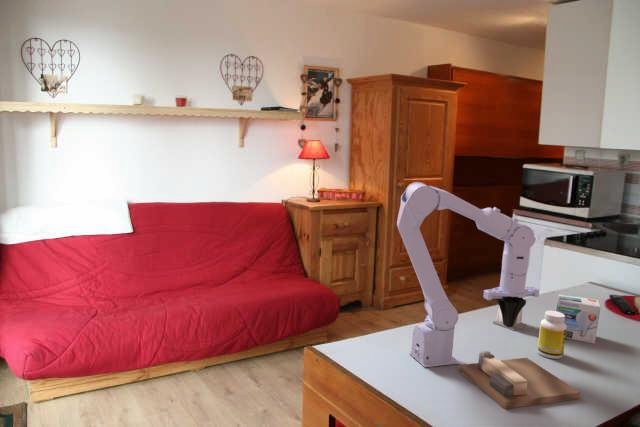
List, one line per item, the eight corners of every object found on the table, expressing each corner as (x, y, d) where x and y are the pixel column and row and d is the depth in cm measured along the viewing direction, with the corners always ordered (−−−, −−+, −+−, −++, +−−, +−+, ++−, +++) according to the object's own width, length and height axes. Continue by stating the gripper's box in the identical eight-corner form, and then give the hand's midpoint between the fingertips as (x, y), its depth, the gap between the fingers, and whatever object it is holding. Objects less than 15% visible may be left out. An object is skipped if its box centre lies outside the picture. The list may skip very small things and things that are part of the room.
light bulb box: (553, 336, 144) (558, 300, 143) (552, 328, 151) (557, 293, 149) (596, 344, 140) (601, 306, 139) (593, 335, 147) (598, 299, 145)
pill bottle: (565, 360, 129) (571, 319, 127) (540, 358, 130) (545, 316, 128) (559, 350, 135) (564, 310, 133) (534, 347, 136) (539, 308, 134)
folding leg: (475, 364, 120) (476, 349, 120) (487, 363, 121) (489, 348, 121) (513, 395, 107) (514, 378, 106) (526, 394, 108) (528, 377, 107)
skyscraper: (488, 321, 153) (498, 230, 149) (502, 316, 159) (512, 227, 154) (514, 330, 147) (525, 235, 142) (528, 324, 152) (539, 232, 148)
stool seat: (504, 409, 105) (506, 391, 104) (459, 370, 121) (460, 355, 120) (579, 398, 110) (581, 381, 110) (526, 363, 126) (527, 348, 126)
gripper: (498, 278, 117) (492, 334, 119) (550, 275, 121) (543, 329, 124) (480, 269, 124) (475, 323, 126) (530, 267, 128) (524, 319, 130)
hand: (507, 325), depth 125 cm, fingers closed
